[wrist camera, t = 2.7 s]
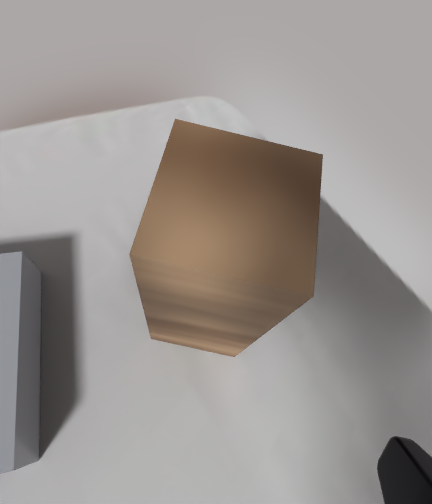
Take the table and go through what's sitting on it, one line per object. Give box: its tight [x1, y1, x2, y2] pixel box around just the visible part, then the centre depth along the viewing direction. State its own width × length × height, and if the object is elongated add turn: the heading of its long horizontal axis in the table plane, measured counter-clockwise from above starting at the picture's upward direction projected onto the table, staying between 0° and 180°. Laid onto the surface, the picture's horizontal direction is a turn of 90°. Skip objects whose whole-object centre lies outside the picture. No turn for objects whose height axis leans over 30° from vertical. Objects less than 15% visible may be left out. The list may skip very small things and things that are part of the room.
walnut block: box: [130, 119, 323, 357], centre depth 15 cm, size 5×5×12 cm
